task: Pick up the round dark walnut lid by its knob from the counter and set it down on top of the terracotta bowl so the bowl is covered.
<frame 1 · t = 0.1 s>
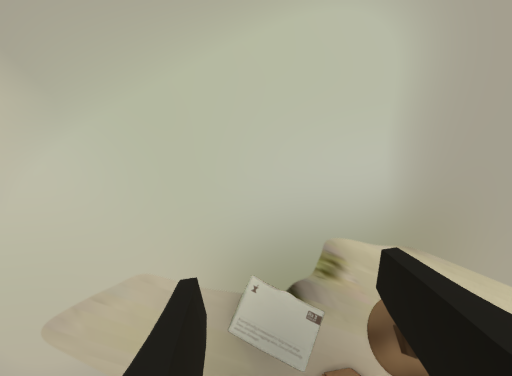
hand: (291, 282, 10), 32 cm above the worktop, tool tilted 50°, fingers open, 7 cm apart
lid: (406, 335, 38), on the worktop
skincare box: (268, 313, 39), on the worktop
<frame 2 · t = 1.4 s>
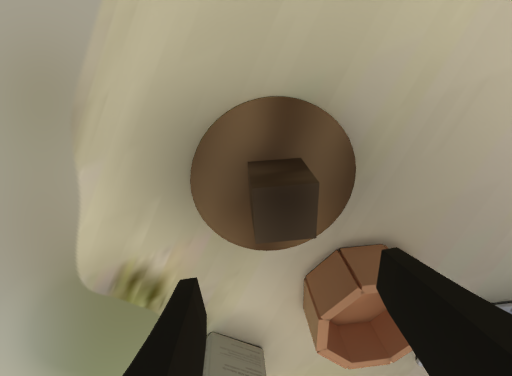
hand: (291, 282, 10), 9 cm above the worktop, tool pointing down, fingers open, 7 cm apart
lid: (273, 179, 19), on the worktop
bowl: (354, 288, 24), on the worktop
skincare box: (217, 359, 26), on the worktop
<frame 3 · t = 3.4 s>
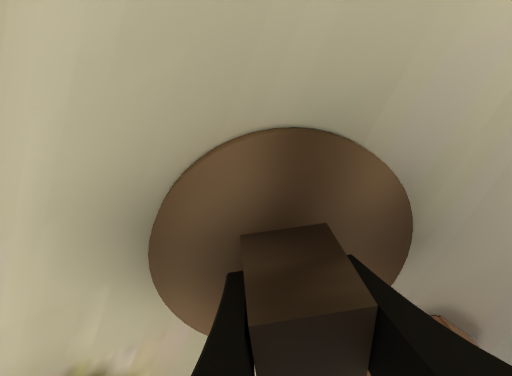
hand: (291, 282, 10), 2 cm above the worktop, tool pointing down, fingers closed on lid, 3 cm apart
lid: (281, 250, 12), on the worktop, touching gripper
when the fingers open (7 cm above the worktop, at t = 6.4 s): lid drops 1 cm, resting on bowl.
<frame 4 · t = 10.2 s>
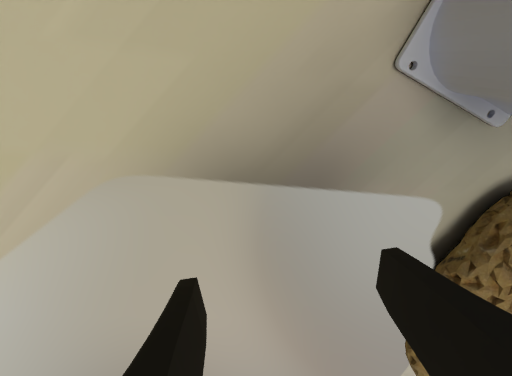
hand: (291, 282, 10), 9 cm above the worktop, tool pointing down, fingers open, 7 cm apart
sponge: (454, 277, 26), on the worktop
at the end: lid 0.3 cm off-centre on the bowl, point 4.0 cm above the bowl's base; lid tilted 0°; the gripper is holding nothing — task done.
